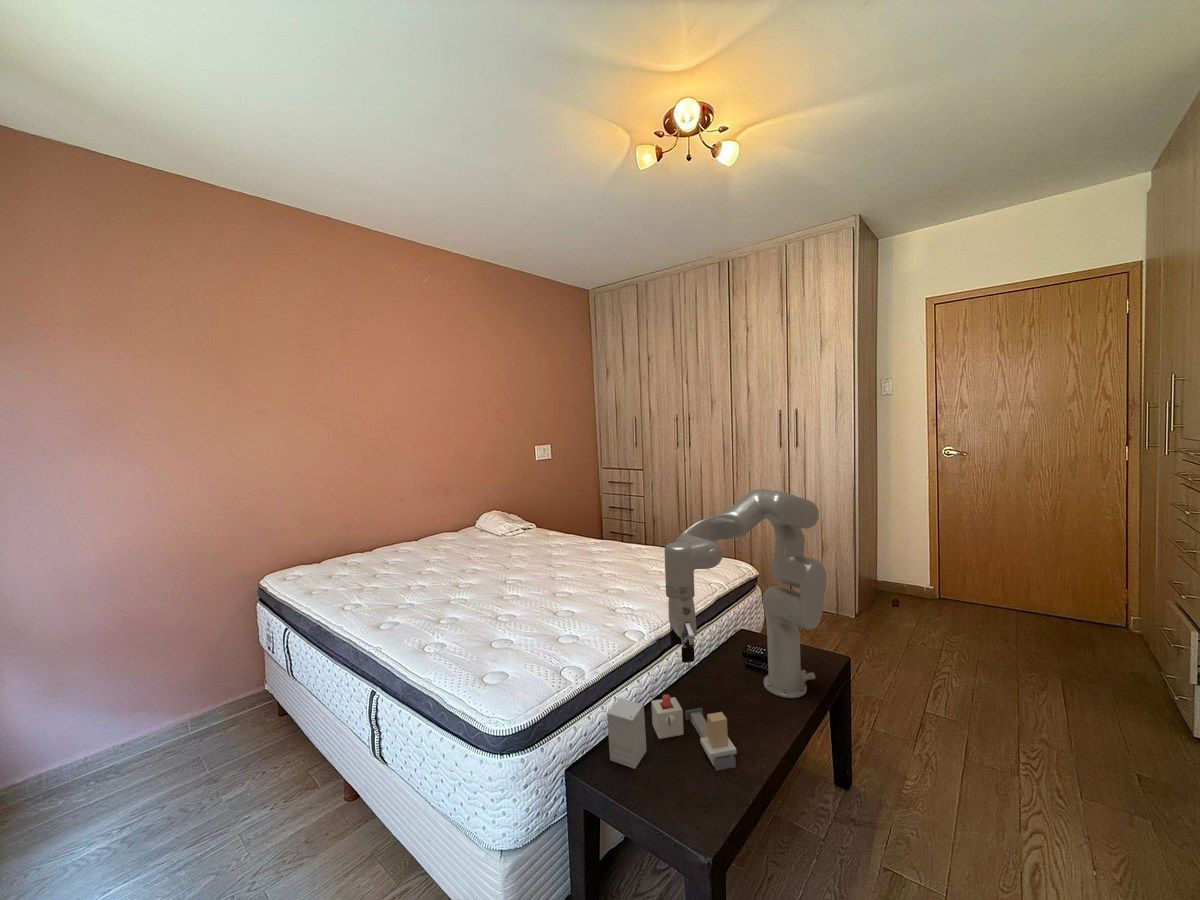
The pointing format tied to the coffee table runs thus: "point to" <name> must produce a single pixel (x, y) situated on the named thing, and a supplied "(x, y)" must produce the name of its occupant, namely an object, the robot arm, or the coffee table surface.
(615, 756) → the supplement box
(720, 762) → the rail
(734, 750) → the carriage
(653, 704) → the white cube box
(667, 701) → the button
